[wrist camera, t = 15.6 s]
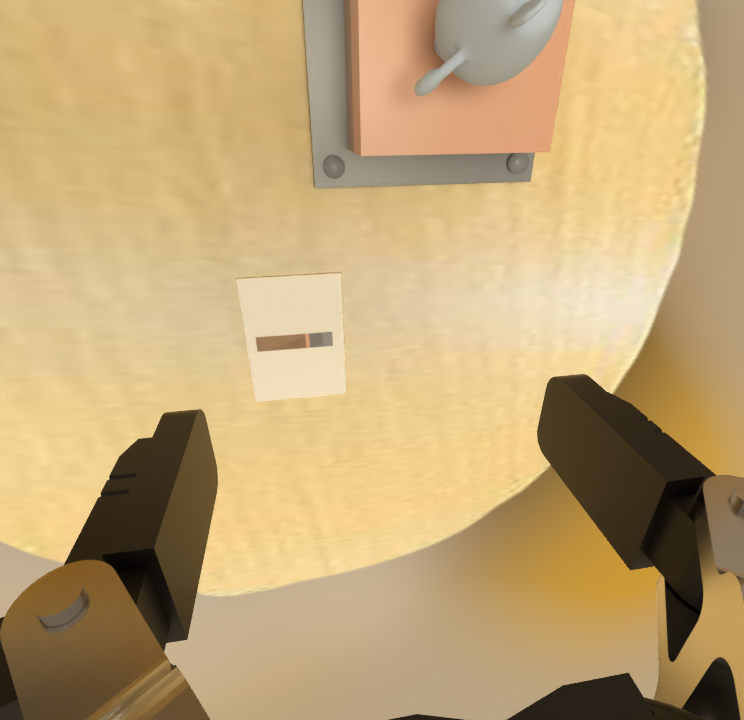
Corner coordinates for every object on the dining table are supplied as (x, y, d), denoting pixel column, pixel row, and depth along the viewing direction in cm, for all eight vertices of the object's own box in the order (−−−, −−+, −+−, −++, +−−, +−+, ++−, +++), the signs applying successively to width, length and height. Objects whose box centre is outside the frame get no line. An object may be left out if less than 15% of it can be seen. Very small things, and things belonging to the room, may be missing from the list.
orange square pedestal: (314, 186, 39) (320, 203, 32) (293, -129, 30) (294, -218, 22) (525, 180, 42) (578, 194, 34) (568, -111, 33) (655, -184, 25)
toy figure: (504, -90, 26) (650, -232, 15) (554, 14, 28) (705, -46, 18) (368, 52, 28) (414, 13, 17) (426, 136, 31) (496, 144, 20)
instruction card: (256, 400, 49) (255, 402, 49) (236, 278, 42) (235, 279, 42) (345, 392, 50) (346, 393, 50) (340, 272, 44) (341, 273, 43)
